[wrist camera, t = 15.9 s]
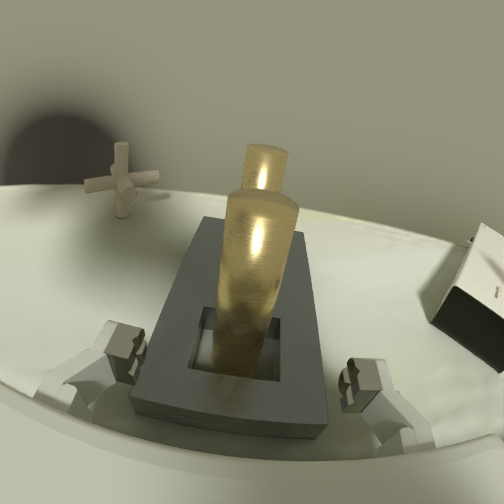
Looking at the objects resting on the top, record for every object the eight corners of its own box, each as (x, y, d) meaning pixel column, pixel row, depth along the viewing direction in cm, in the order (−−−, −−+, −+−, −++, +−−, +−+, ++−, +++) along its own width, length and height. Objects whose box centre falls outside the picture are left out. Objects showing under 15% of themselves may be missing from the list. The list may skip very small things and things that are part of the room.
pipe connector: (147, 196, 44) (149, 133, 39) (168, 225, 38) (171, 149, 32) (85, 206, 39) (81, 139, 33) (92, 239, 32) (85, 158, 27)
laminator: (496, 379, 22) (530, 339, 19) (419, 323, 29) (445, 279, 26) (509, 275, 43) (522, 249, 40) (464, 245, 50) (476, 219, 47)
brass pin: (200, 361, 21) (212, 197, 15) (232, 337, 24) (257, 183, 17) (237, 389, 20) (272, 226, 13) (267, 362, 22) (311, 207, 15)
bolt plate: (315, 439, 17) (416, 295, 10) (135, 413, 17) (92, 244, 10) (298, 249, 37) (324, 147, 30) (202, 234, 37) (212, 129, 30)
